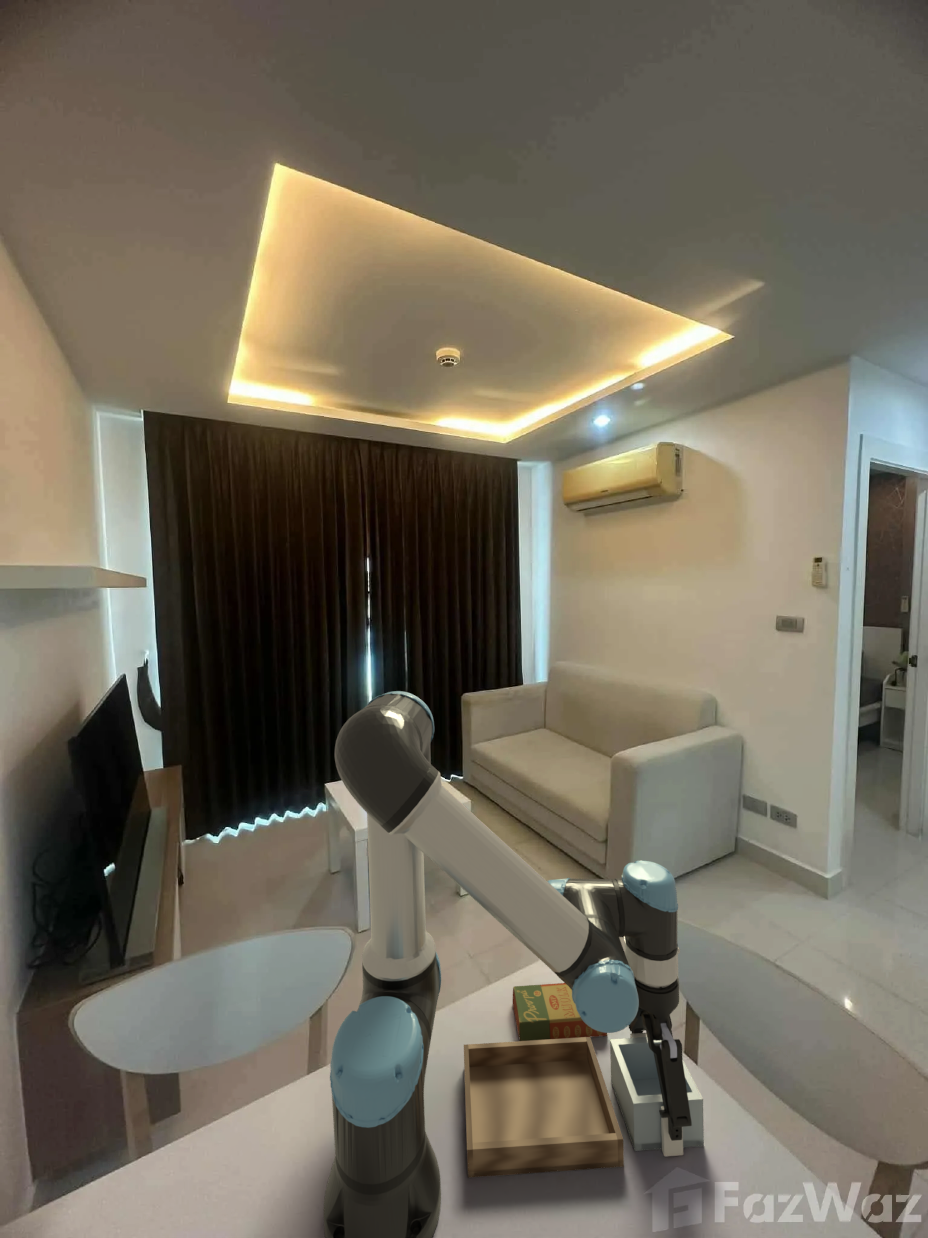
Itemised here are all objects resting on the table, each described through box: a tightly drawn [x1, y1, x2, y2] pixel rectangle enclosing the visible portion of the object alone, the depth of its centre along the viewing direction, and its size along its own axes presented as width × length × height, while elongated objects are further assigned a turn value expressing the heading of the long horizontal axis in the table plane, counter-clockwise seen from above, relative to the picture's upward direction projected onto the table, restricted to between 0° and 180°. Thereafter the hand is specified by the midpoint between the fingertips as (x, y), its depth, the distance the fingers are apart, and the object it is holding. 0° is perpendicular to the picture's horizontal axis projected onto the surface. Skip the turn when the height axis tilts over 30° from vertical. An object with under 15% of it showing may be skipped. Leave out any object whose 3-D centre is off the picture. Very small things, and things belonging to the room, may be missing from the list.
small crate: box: [609, 1037, 705, 1152], centre depth 73 cm, size 10×10×7 cm
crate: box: [463, 1037, 625, 1179], centre depth 74 cm, size 22×16×4 cm
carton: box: [512, 982, 608, 1041], centre depth 90 cm, size 8×16×4 cm, turn 92°
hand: (655, 1110), depth 74 cm, fingers open, 11 cm apart
